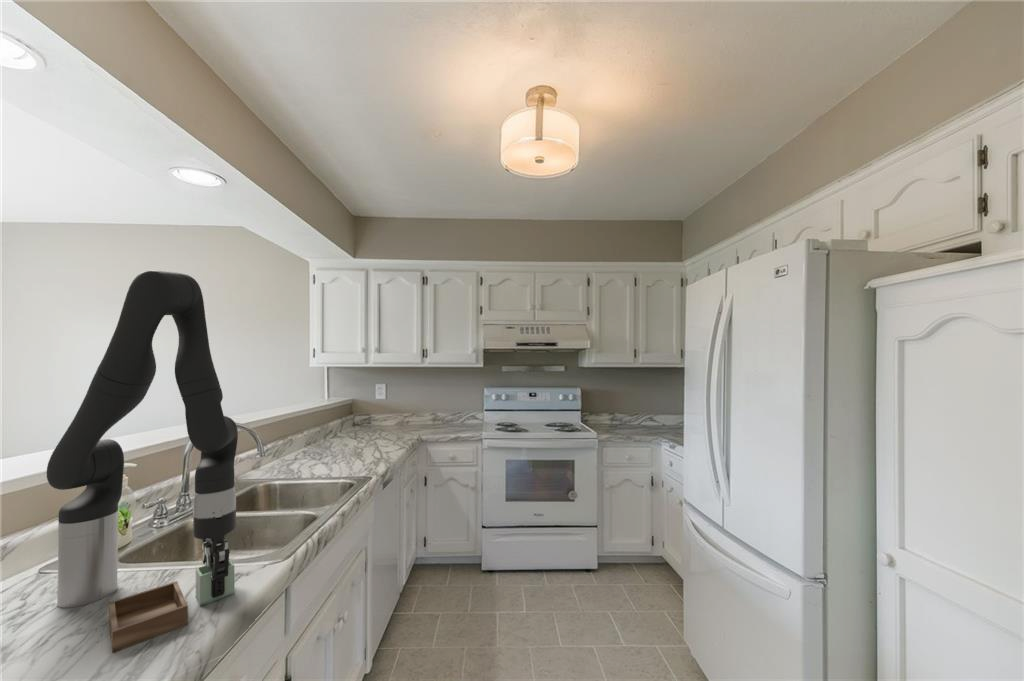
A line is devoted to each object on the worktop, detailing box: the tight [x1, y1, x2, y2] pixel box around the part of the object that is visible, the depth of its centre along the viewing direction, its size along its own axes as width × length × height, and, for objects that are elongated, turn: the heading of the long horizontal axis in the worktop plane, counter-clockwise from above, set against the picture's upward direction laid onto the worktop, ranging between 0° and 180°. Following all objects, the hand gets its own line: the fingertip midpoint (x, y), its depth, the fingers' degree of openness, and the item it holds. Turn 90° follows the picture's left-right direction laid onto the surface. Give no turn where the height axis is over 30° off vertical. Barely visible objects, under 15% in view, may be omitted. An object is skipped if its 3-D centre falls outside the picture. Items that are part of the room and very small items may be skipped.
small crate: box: [195, 558, 235, 607], centre depth 90 cm, size 5×6×6 cm
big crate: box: [108, 580, 189, 654], centre depth 81 cm, size 13×10×4 cm
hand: (215, 590), depth 90 cm, fingers closed on small crate, 5 cm apart
